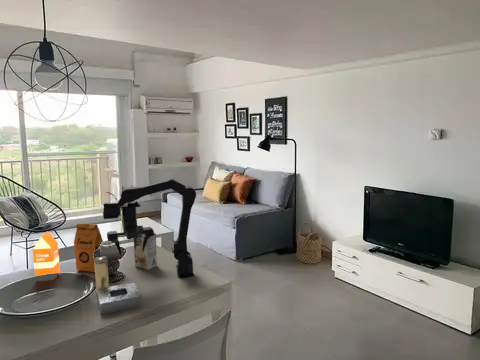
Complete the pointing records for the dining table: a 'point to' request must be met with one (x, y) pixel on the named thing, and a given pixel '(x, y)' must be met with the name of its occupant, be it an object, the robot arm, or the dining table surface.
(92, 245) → the coffee package
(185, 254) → the robot arm
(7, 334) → the dining table surface
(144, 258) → the coffee box
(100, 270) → the brass plug
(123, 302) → the bore housing
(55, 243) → the orange juice
